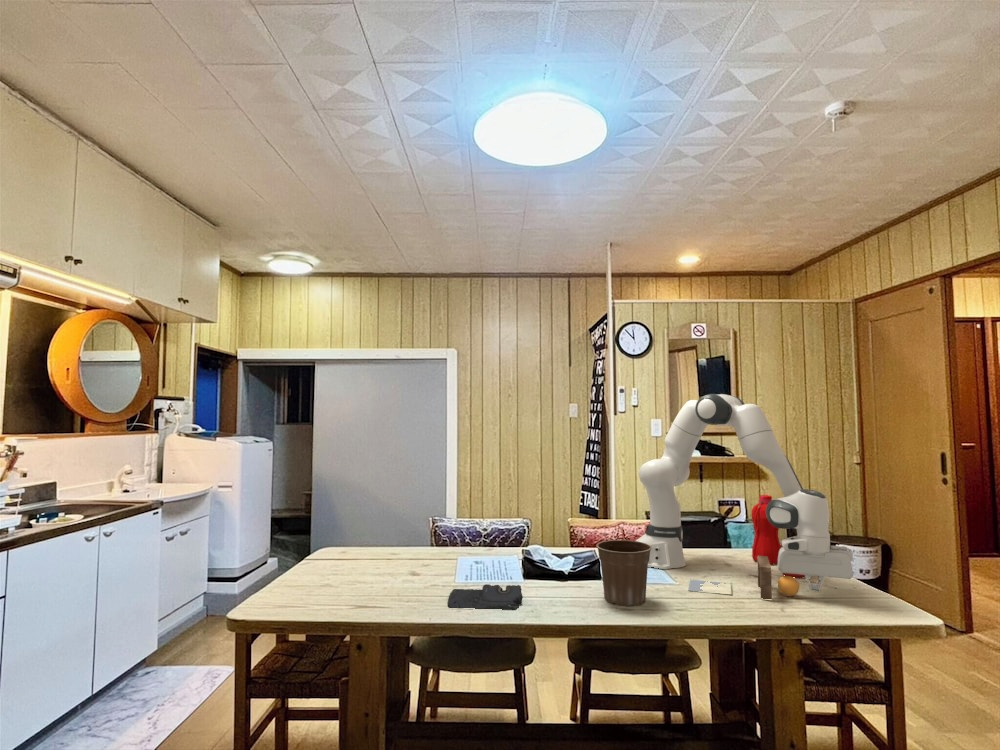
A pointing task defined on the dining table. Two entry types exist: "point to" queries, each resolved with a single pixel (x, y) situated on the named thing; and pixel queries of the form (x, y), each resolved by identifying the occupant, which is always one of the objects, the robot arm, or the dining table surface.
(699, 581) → the flat gray rectangular panel
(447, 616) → the dining table surface
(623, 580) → the plant pot
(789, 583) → the ball
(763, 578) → the wooden staple shape
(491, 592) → the dark slate chunk
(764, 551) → the water bottle
